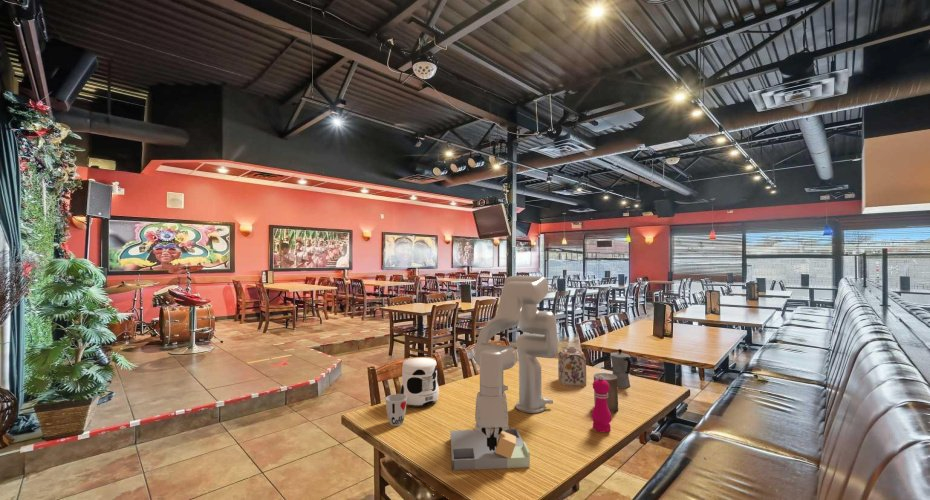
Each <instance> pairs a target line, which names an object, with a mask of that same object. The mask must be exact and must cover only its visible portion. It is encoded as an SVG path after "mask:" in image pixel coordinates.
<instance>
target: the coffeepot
mask: <svg viewBox="0 0 930 500" xmlns="http://www.w3.org/2000/svg"><path fill="white" fill-rule="evenodd" d="M617 350H618V352H611V353H610V361H611V366H612V373H611V374H613V375H616V376H617V383H618V389H619V388H621V389H627V388H630V387H631V383H630V376H629V374H630V370H631V364H632V361H631V359H630V358H631V356H630V354H627V353H624V352H622V351H623V350H622V349H620V348H619V349H617Z"/></svg>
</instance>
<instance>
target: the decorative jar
mask: <svg viewBox="0 0 930 500" xmlns="http://www.w3.org/2000/svg"><path fill="white" fill-rule="evenodd" d="M557 357H558V358H557V360H558V363H557V365H558V366H557V368H558V369H557V370H558V372H557V373H558V380H559V382H560V383H561V384H562V386H563V387H567V386H568V387H586V386H587V359H586V356H585V353H584V352H583V351H582V350H579V349H577V347H576V346H568V347H566V348H565V349H562V350H560V351H558V353H557Z"/></svg>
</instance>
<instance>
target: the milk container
mask: <svg viewBox="0 0 930 500" xmlns="http://www.w3.org/2000/svg"><path fill="white" fill-rule="evenodd" d="M401 369H402V371H401V372H402V373H401V378H402V380H401V381H402V383H401V387H400V391H399V394H403V395H406V396H407V400H406V406H409V407H415V408H417V407H426V406H430V405H433V404H434V403H436V402H437V401H438V399H439V396H440V388H439V387H440V386H439V383H438V365H437V361H436V359H433V358H429V357H428V358H427V357H415V358H414V357H413V358H409V359H406V360H404V361H403V362H402V367H401Z"/></svg>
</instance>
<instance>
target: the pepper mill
mask: <svg viewBox="0 0 930 500" xmlns="http://www.w3.org/2000/svg"><path fill="white" fill-rule="evenodd" d="M598 378H599V379H597V380H595V381H594V380H593V383H592V388H593V394H594V395H593V396H595V398H596V403H595V402H594V405H593V409H592V410H591V411H592V412H591V420H592V421H593V422H592V429H593V430H594V431H597V432H599V433H608V432H609V433H610V431H611V429H612V428H611V424H610V423H611V422H612V421H613V419H612V412H610V410H609V408H608V405H607V398H608V393H607V392H608V391H609V384H608V382H607V381H606V380H603V376H602V375H600V376H599V377H598ZM594 390H595V392H594Z"/></svg>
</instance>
